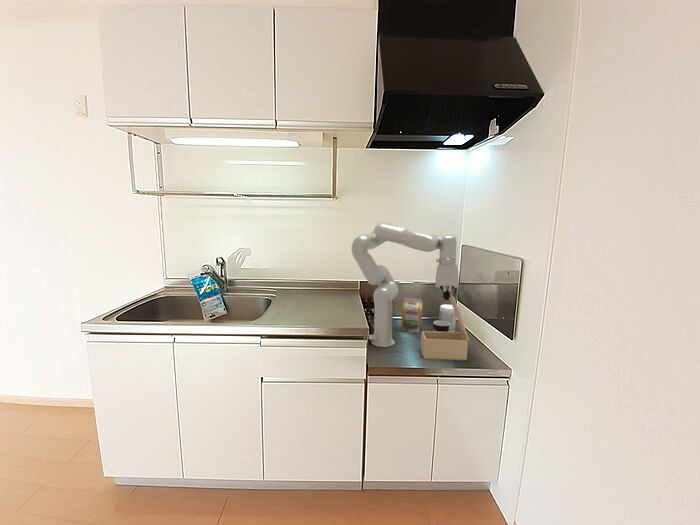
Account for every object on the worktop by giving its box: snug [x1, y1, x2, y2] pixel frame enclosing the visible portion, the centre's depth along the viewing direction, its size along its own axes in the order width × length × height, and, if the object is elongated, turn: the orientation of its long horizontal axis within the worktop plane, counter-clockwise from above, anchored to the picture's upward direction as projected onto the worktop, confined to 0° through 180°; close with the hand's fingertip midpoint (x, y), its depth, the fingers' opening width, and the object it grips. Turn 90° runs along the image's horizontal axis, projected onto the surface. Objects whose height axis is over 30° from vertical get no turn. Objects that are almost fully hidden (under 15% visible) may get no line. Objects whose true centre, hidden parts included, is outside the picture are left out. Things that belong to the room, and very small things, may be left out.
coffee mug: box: [432, 320, 450, 332], centre depth 187 cm, size 12×9×10 cm
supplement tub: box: [438, 303, 457, 332], centre depth 201 cm, size 10×10×15 cm
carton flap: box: [449, 293, 470, 341], centre depth 165 cm, size 22×11×1 cm
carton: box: [420, 330, 469, 361], centre depth 167 cm, size 20×11×10 cm, turn 87°
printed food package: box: [400, 297, 423, 335], centre depth 201 cm, size 11×11×19 cm
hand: (446, 299), depth 163 cm, fingers closed
